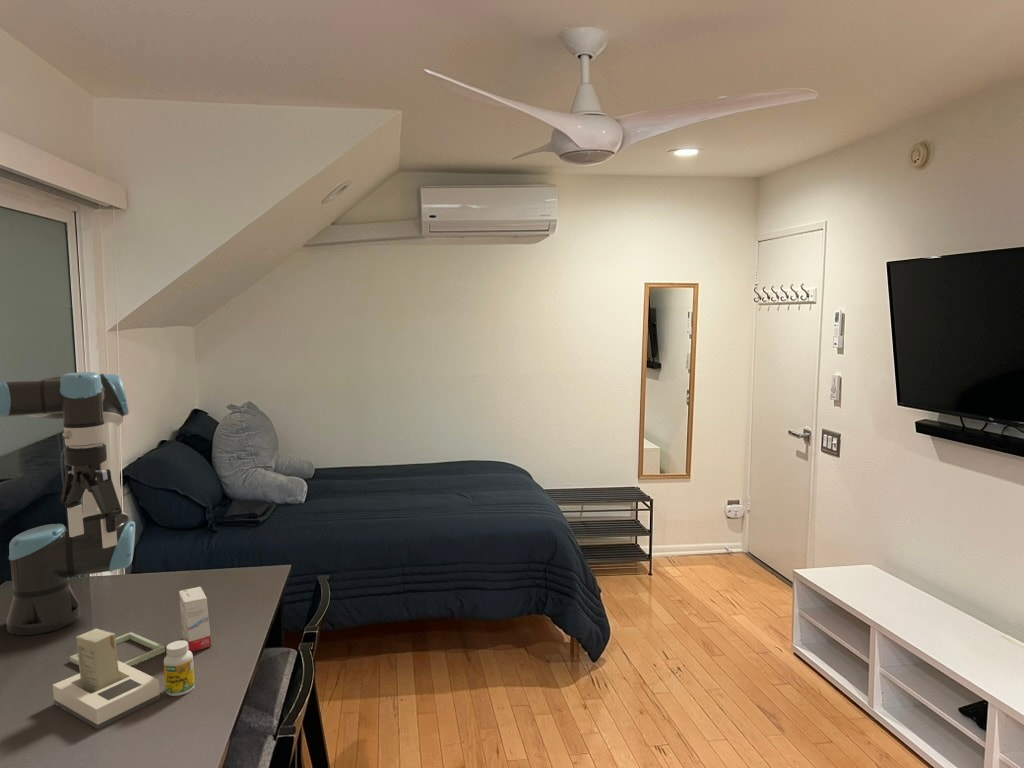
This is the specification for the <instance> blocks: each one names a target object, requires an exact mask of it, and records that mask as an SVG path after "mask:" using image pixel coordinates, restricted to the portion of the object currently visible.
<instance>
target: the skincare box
mask: <svg viewBox="0 0 1024 768" xmlns="http://www.w3.org/2000/svg"><path fill="white" fill-rule="evenodd" d="M115 638H116V633H114V632H112V631H108V630H104V629H100V628H96V627H95V628H93V629H92V630H90V631H87V632H85V633H82V634H80V635H77V636H75V639H76V647H77V648H76V649H77V653H78V659H79V666H78V667H79V673H80V679H81V689H83V690H84V691H86V692H88V693H90V694H92V693H94V692H96V691H99V690H101V689H103V688H105V687H107V686H110V685H112V684H114V683H116V682H118V681H120V680H119V670H118V661H119V660H118V652H117V651H118V650H117V645H116V639H115Z"/></svg>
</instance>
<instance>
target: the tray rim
mask: <svg viewBox="0 0 1024 768" xmlns="http://www.w3.org/2000/svg"><path fill="white" fill-rule="evenodd" d="M115 639H116V646H117V645H118V644H122V643H123V642H126V641H128V640H131V641H134V642H136V643H138V644H139V645H142V646H144V647H146V648H150V649H151V650H149V651H147V652H144V653H143V654H140V655H139V656H136V657H134V658H131V659H130V660H127V661H125V662H123V663H124V664H127V665H129V666H132V665H134V666H136V665H138V664H137V663H139V662H141V661H143V662H145V661H148V660H150V659H152V658H154V657H156V655H157V656H159V655H161V654H163V653H165V652H166V646H164V645H162V644H161V643H157V642H155V641H153V640H150V639H148V638H145V637H143V636H141V635H139V634H136V633H134V632H132V631H130V632H128V633H125V634H123V635H119V636H118V637H115ZM153 656H154V657H153ZM151 657H152V658H151ZM149 658H150V659H149ZM147 659H148V660H147ZM144 660H145V661H144ZM69 661H72V662H75V663H76V664H78V665H79V659H78V652H76V653H75V654H72V655H70V656H69ZM72 662H71V663H72ZM141 663H142V662H141ZM76 664H75V665H76ZM135 664H136V665H135ZM139 664H140V663H139ZM78 665H77V666H78ZM132 667H133V666H132Z"/></svg>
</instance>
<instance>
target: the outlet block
mask: <svg viewBox="0 0 1024 768" xmlns="http://www.w3.org/2000/svg"><path fill="white" fill-rule="evenodd" d="M118 670H119V680H120V681H118V682H116V683H114V684H112V685H110V686H107V687H105V688H103V689H101V690H99V691H96V692H94V693H92V694H90V693H88V692H86V691H84V690H83V689H81V679H80V672H79V673H77V674H75V675H72V676H70V677H68V678H66V679H63V680H61V681H58V682H56V683H53V684H52V692H53V693H52V694H53V705H55V704H57V705H58V706H60V707H61V708H60V707H59V708H60V709H62V708H63V709H62V710H64V709H65V710H66V712H67V711H68V712H67V713H68V714H70V713H71V715H72V716H74V717H76V718H77V719H79V720H81V721H82V722H84V723H86V724H88V725H89V726H91V727H93V728H94V729H96V730H97V731H98V730H101V729H103V728H105V727H106V726H109V725H111V724H113V723H115V722H116V721H117V722H118V721H119V720H121V719H123V718H124V717H126V716H128V715H130V714H133V713H135V712H137V711H138V710H140V709H142V708H145V707H146V706H148V705H151V704H153V703H154V702H156V701H159V700H160V699H161V696H160V695H161V694H160V682H159V680H160V679H158V678H155V677H153V676H151V675H149V674H148V673H146V672H143V671H141V670H139V669H137V668H135V667H134V666H132V667H131V666H129V665H127V664H124V662H122V661H120V660H118ZM57 705H56V706H57ZM58 706H57V707H58ZM65 710H64V711H65Z"/></svg>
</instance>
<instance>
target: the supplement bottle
mask: <svg viewBox="0 0 1024 768" xmlns="http://www.w3.org/2000/svg"><path fill="white" fill-rule="evenodd" d="M188 649H189V647H188V642H187V641H184V640H183V639H181V640H175V641H172V642H170V643H168V644H167V645H166V646H165V652H166V655H165V656H164V659H163V670H164V673H163V674H164V684H165V685H164V686H165V693H166V694H167V695H168V696H172V697H180V696H183V695H186V694H188V693H190V692H192V691H193V689H195V685H196V683H195V682H196V681H195V669H194V668H195V667H194V657H193V656H194V655H193V652H190V651H189V650H188Z"/></svg>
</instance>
